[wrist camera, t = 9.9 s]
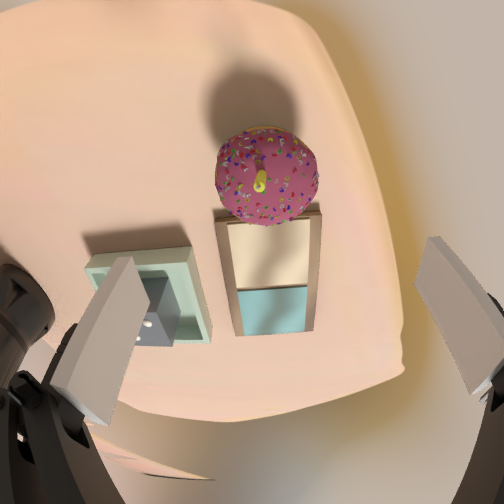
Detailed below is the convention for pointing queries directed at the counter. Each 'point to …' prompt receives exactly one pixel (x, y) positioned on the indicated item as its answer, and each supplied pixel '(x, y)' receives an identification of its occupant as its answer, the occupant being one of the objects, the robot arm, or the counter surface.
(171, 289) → the die
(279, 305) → the board
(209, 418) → the counter surface
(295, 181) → the cupcake
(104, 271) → the tray
